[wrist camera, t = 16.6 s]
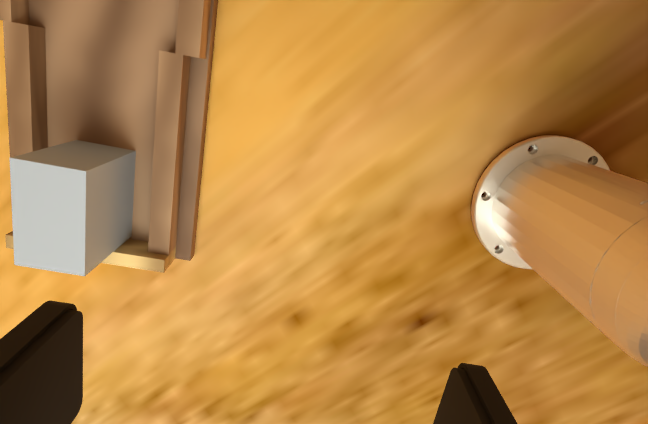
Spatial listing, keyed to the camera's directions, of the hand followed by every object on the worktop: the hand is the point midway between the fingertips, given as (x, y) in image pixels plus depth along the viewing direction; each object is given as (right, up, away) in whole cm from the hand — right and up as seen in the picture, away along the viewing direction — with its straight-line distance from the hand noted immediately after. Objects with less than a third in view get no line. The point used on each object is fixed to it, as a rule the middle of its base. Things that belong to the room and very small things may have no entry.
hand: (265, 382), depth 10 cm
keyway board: (-16, +15, +25) cm, 33 cm away
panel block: (-18, +6, +26) cm, 32 cm away
